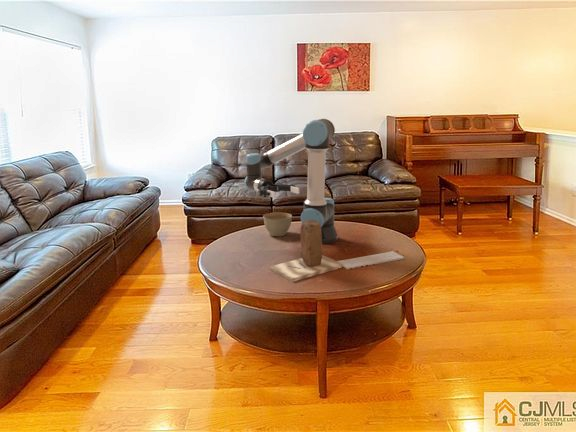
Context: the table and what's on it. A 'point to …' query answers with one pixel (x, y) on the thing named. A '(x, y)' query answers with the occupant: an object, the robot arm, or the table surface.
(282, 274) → the board
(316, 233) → the block
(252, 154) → the robot arm
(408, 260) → the table surface
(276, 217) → the planter bowl
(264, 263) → the table surface
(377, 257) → the baseboard
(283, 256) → the table surface
